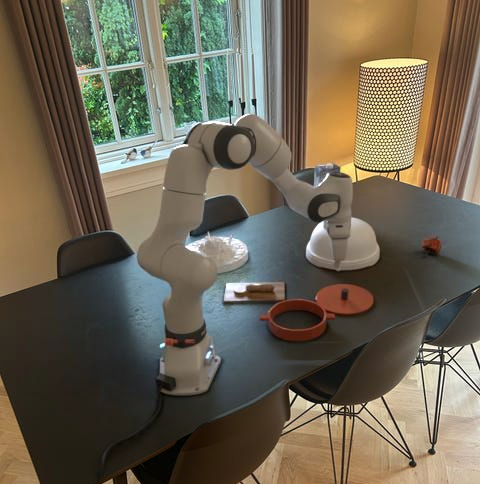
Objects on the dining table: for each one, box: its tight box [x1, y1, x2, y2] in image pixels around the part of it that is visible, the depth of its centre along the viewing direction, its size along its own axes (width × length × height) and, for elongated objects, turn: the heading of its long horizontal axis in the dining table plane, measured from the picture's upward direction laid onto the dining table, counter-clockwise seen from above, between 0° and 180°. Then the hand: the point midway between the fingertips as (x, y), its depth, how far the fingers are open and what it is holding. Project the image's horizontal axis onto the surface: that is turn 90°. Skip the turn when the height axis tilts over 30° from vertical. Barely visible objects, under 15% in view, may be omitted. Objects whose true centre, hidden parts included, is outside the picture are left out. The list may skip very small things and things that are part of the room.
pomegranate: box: [421, 236, 442, 257], centre depth 200 cm, size 7×7×10 cm
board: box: [223, 281, 286, 305], centre depth 184 cm, size 13×22×1 cm, turn 86°
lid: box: [315, 283, 375, 316], centre depth 175 cm, size 20×20×4 cm
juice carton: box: [313, 162, 342, 224], centre depth 230 cm, size 9×10×27 cm
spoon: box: [234, 284, 275, 295], centre depth 183 cm, size 15×5×3 cm, turn 86°
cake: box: [186, 231, 249, 274], centre depth 208 cm, size 28×28×10 cm
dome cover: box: [305, 216, 381, 272], centre depth 203 cm, size 32×30×14 cm
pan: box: [259, 298, 336, 342], centre depth 164 cm, size 19×24×4 cm
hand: (335, 260), depth 169 cm, fingers open, 8 cm apart
